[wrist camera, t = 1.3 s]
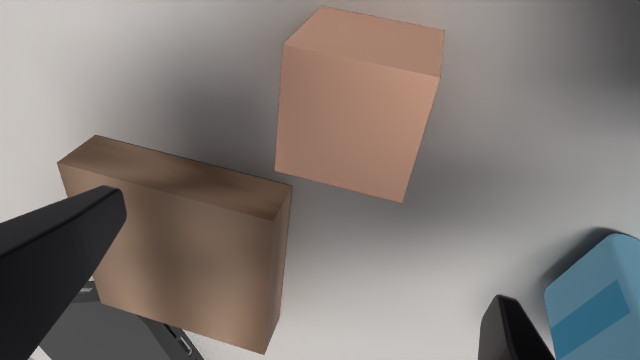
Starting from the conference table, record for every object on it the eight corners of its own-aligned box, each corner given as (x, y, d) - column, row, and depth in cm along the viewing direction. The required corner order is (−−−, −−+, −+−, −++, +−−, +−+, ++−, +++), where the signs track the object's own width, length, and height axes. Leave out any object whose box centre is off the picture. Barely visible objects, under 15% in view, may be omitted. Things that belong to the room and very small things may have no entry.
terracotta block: (444, 29, 17) (440, 77, 13) (413, 137, 20) (402, 203, 16) (322, 5, 17) (282, 43, 14) (309, 113, 20) (274, 170, 17)
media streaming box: (114, 379, 45) (95, 407, 43) (22, 281, 38) (-6, 308, 36) (229, 386, 39) (214, 419, 37) (146, 273, 32) (121, 305, 30)
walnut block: (292, 186, 23) (273, 221, 21) (279, 317, 30) (264, 355, 28) (95, 135, 25) (56, 162, 22) (127, 271, 32) (101, 303, 30)
